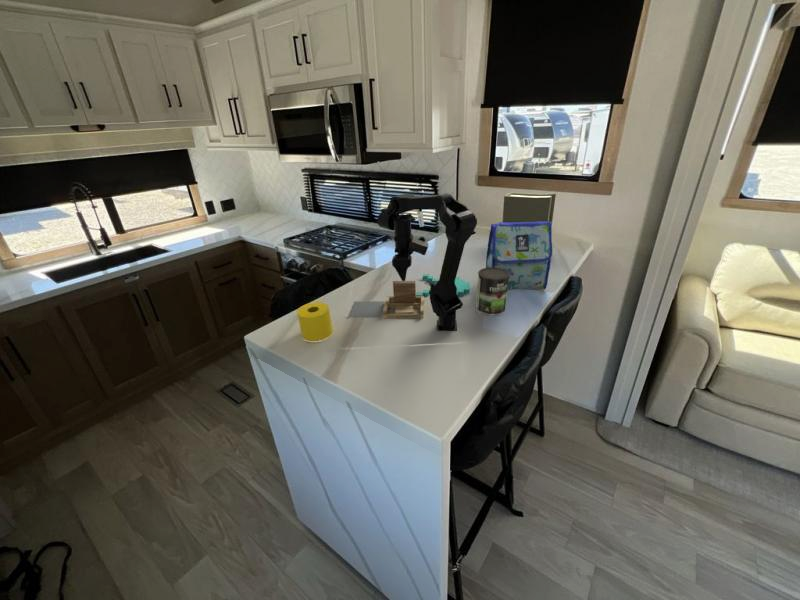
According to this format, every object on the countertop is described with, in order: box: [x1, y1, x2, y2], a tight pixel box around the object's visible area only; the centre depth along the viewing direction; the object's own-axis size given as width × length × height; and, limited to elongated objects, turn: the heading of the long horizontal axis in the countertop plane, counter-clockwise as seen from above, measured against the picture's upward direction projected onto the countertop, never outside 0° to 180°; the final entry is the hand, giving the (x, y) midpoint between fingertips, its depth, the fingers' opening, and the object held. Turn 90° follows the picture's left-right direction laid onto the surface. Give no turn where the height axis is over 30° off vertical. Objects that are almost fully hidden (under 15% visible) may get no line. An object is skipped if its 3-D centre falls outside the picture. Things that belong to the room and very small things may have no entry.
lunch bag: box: [485, 221, 553, 291], centre depth 136 cm, size 22×17×26 cm
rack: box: [382, 295, 425, 319], centre depth 128 cm, size 11×14×3 cm
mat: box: [347, 300, 386, 319], centre depth 130 cm, size 12×12×1 cm
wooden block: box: [392, 280, 417, 303], centre depth 129 cm, size 2×8×10 cm, turn 85°
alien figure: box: [416, 273, 471, 297], centre depth 143 cm, size 20×2×20 cm
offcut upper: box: [394, 306, 415, 314], centre depth 127 cm, size 4×6×1 cm, turn 91°
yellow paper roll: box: [296, 301, 334, 341], centre depth 115 cm, size 10×10×9 cm
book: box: [502, 192, 557, 226], centre depth 170 cm, size 22×9×28 cm, turn 55°
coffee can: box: [475, 267, 509, 317], centre depth 124 cm, size 10×10×14 cm
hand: (404, 275), depth 126 cm, fingers open, 9 cm apart
